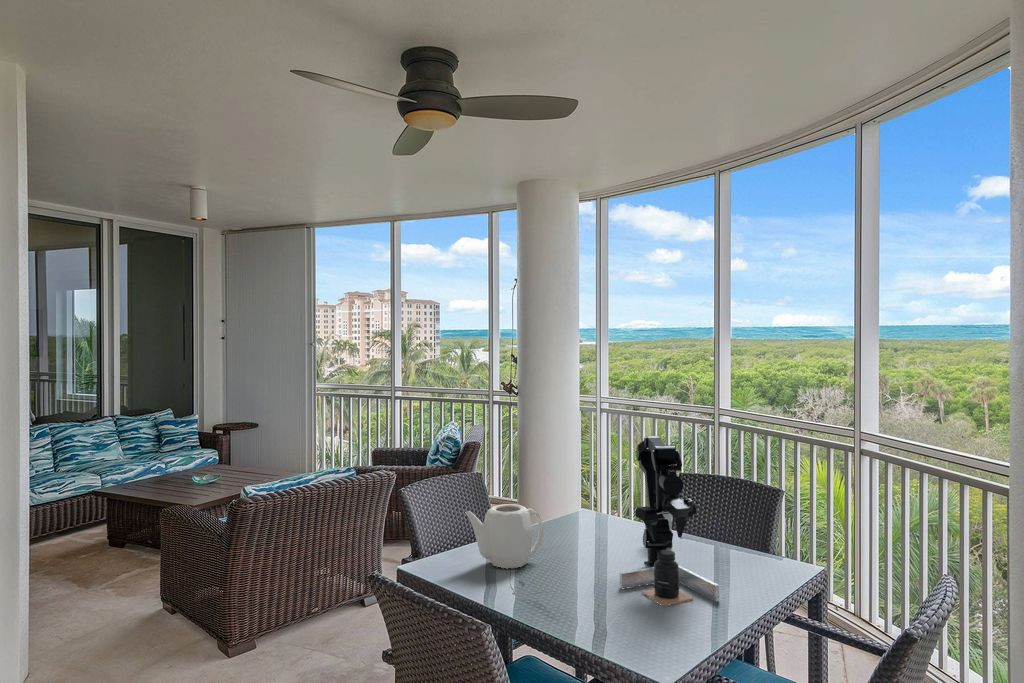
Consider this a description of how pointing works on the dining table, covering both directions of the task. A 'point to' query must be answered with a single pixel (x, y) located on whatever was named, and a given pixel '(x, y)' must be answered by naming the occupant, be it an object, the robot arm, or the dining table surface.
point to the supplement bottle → (666, 575)
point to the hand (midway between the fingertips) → (667, 539)
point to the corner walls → (685, 577)
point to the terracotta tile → (664, 602)
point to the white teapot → (506, 535)
